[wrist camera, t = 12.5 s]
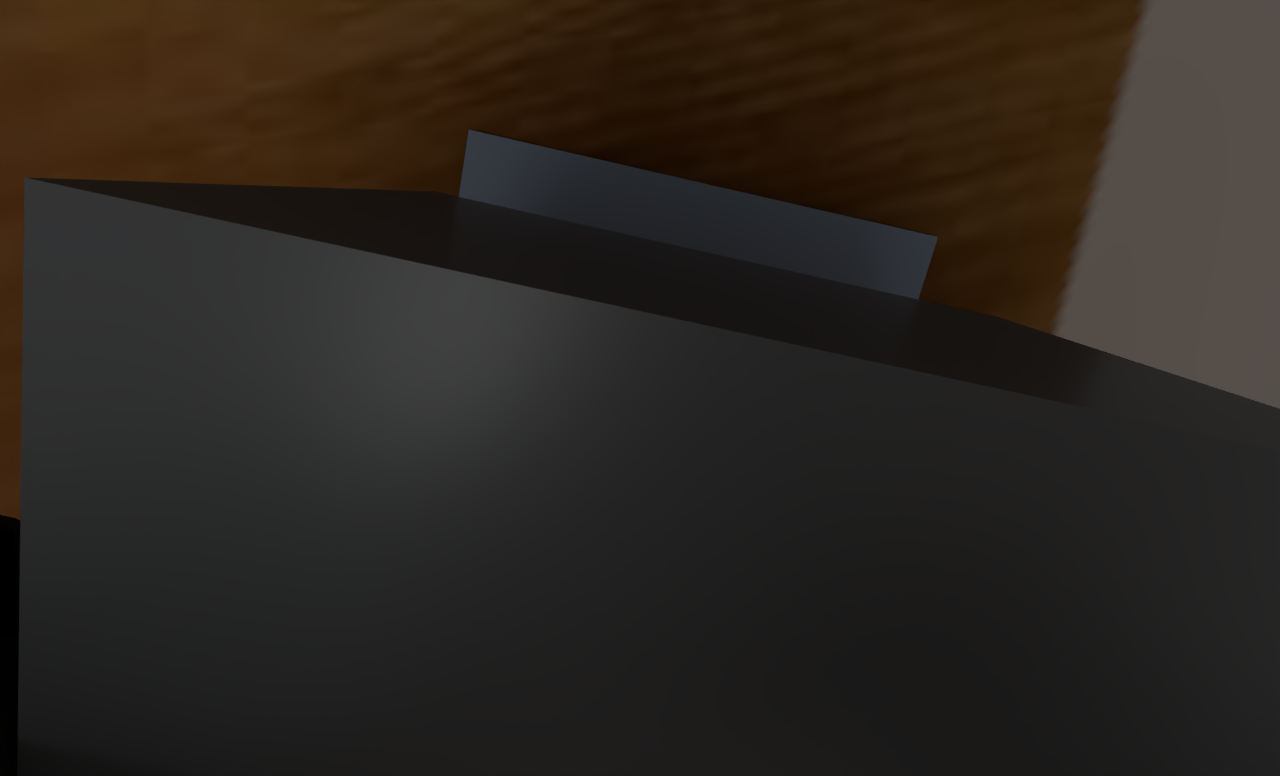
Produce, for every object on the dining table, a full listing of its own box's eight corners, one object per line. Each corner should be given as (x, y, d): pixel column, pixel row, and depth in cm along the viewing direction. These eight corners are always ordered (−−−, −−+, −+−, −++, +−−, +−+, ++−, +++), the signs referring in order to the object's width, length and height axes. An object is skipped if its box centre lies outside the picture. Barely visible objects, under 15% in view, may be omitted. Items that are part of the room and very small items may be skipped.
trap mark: (470, 130, 18) (468, 129, 18) (935, 236, 19) (937, 236, 19) (404, 562, 21) (403, 565, 21) (807, 638, 22) (809, 642, 22)
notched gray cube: (435, 191, 13) (24, 176, 4) (999, 317, 13) (1656, 531, 5) (362, 695, 15) (10, 1338, 7) (840, 781, 16) (1083, 1469, 7)
